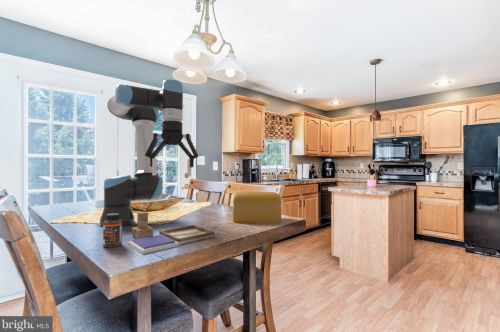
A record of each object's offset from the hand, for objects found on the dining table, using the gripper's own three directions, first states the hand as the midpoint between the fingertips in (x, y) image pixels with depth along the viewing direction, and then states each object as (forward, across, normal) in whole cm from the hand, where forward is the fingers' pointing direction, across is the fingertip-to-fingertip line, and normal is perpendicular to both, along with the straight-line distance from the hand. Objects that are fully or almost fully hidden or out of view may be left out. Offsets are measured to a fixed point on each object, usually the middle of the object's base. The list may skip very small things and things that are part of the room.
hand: (171, 175), depth 102 cm
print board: (+25, +5, +3) cm, 25 cm away
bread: (+25, +34, +35) cm, 55 cm away
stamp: (+25, -12, +1) cm, 28 cm away
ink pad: (+24, -3, -9) cm, 26 cm away
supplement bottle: (+25, -18, -10) cm, 32 cm away
